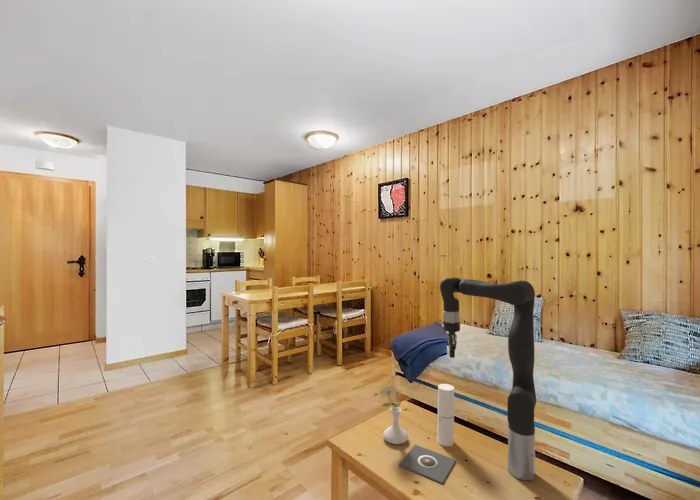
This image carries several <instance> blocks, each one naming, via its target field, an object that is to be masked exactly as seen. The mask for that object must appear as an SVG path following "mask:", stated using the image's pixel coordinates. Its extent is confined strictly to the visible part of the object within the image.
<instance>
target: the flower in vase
mask: <svg viewBox="0 0 700 500" xmlns="http://www.w3.org/2000/svg"><path fill="white" fill-rule="evenodd" d="M395 393H397V388H396V386H395V385H393V384H391V385H390V384H389V385H385V386H384V387H383V388H381V390H380V392H379V394H380V396H381V397H382V398H383V397H384V398H386V397H387V398H388V397H389V402H390V403H389V402H385V403H383V404H382V405H381V407H387V408H388V407H390V406H391V407H390V412H391V413H392V425H391V426H389V427H386V429H385V430H384V431H383V434H382V436H383V439H384V440H385V441H386V442H388V443H390V444H394V445H402V444H404V443H406V442H407V441H408V439H409V436H408V433H407V431H406V430H405V429H404V428H402V427H401V426H400V425H399V417H400V414H401V412H402V408H400V405H401V403H402V402H401V401H402V400H399V401H397V402H395V403H394V405H393V404H392V400H391V396H393V395H395Z"/></svg>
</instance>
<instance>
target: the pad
mask: <svg viewBox="0 0 700 500" xmlns="http://www.w3.org/2000/svg"><path fill="white" fill-rule="evenodd" d="M456 461H457V460H456V459H455V458H451V457H449V456H446V455H443V454H442V453H438V452H436V451H433V450H431V449H428V448H425V447H423V446H420V445H418V444H414V445H413V446H412V448H411V449H410V450H409V451H408V452H407V454H406V455H405V456H404V457H403V459H401V461H400V462H399V463H398V466H399V467H402V468H404V469H406V470H408V471H411V472H413V473H416V474H417V475H420V476H422V477H424V478H427V479H429V480H432V481H434V482H437V483H438V484H441V485H444V483H445V480H446V479H447V477H448V476H449V473H450V472H451V471H452V469H453V467H454V466H455V463H456Z"/></svg>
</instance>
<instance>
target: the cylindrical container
mask: <svg viewBox="0 0 700 500" xmlns="http://www.w3.org/2000/svg"><path fill="white" fill-rule="evenodd" d="M436 426H437V433H436V436H437V438H436V441H437V443H438V444H439V445H441V446H443V447H452V446H453V445H454V435H455V432H454V431H455V429H454V428H455V387H454V386H453V385H452V384H449V383H439V384H438V385H437V425H436Z"/></svg>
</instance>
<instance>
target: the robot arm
mask: <svg viewBox="0 0 700 500" xmlns="http://www.w3.org/2000/svg"><path fill="white" fill-rule="evenodd" d="M439 290H440V293H441V297H442V301H443V315H442V317H443V318H442V320H443V321H442V324H443V325H442V326H443V328H442V329H443V331H445V332H448V333H446V338H447V345H448V350H449V353H448V354H449V358H450V359H451V358H452V359H454V358H455V357H456V356H455V355H456V353H455V351H456V349H457V337H458V336H457V334H456V333H457V332H460V331H461V314H460V301H459V299H458V298H456V297H455V293H460V294H462V295H464V296H469V297H472V296H473V297H479V298H488V299H493V300H496V301H500V302H503V303H506V304H509V305H512V306H513V311H514V312H513V319H512V322H511V324H510V327H509V332H508V336H507V344H508V345H507V350H508V357H509V361H510V365H511V368H512V386H511V391H510V392H509V394H508V397H507V404H506V405H507V408H506V409H507V418H506V419H507V423H508V424H507V425H508V429H507V430H508V431H507V433H508V434H507V436H508V437H507V440H508V441H507V471H508V473H509V474H510V475H511V476H513V477H514V478H516V479H519V480H522V481H531V482H534V478H535V473H536V472H535V471H536V469H535V468H536V464H535V463H536V448H535V438H536V436H535V435H536V426H535V408H536V404H537V394H536V389H535V380H534V379H535V378H534V369H535V335H534V331H535V330H534V308H535V299H536V297H535V296H536V293H535V289H534V286H533V285H532V284H531V283H530V282H529V281H527V280H517V281H516V280H515V281H511V282H506V283H504V282H503V283H491V282H486V281H483V280H478V279H468V278H467V279H466V278H461V277H446V278H443V279H442V280H441V281H440V284H439Z"/></svg>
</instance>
